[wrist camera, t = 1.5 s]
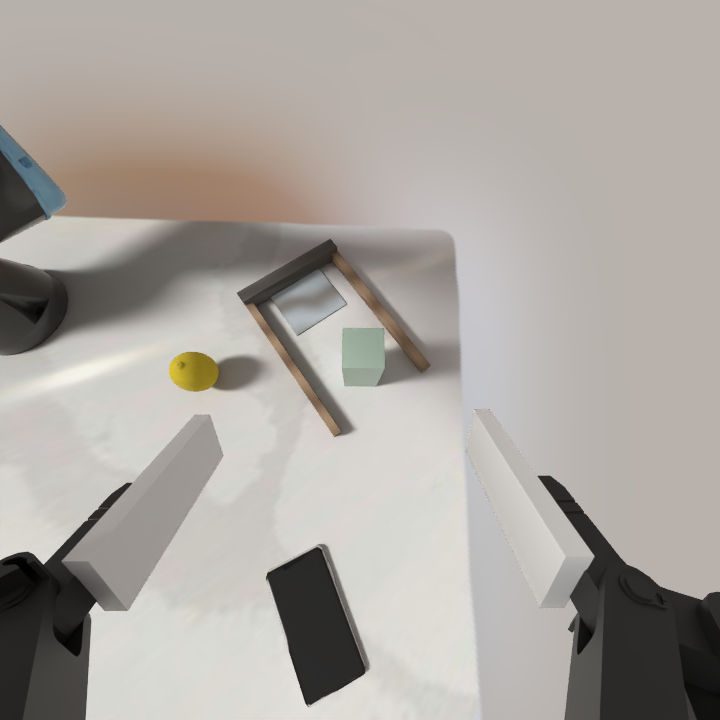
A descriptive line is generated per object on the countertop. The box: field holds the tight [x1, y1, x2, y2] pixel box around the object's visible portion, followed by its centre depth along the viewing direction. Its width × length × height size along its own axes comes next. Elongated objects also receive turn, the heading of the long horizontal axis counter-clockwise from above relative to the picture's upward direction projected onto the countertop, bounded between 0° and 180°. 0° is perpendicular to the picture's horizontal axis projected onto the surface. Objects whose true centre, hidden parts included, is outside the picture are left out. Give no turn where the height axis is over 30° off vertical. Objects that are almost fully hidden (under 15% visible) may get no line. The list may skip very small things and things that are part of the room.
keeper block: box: [342, 328, 385, 386], centre depth 38 cm, size 5×5×12 cm
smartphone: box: [266, 545, 365, 707], centre depth 34 cm, size 8×1×15 cm
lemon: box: [169, 352, 219, 392], centre depth 39 cm, size 6×6×8 cm
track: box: [237, 239, 430, 437], centre depth 44 cm, size 28×18×3 cm, turn 36°
